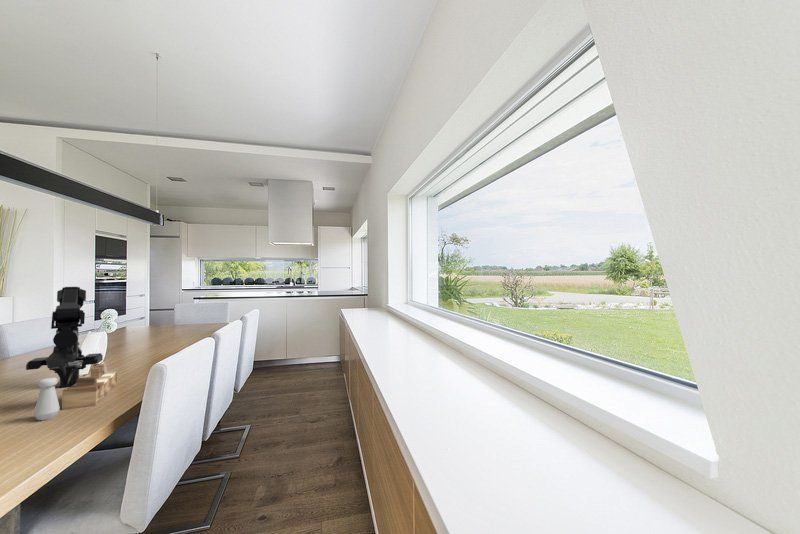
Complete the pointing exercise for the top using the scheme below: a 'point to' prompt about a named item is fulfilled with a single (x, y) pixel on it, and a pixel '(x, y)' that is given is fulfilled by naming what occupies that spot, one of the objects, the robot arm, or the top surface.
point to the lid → (100, 373)
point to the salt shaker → (47, 400)
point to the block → (86, 381)
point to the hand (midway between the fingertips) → (65, 384)
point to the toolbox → (86, 394)
